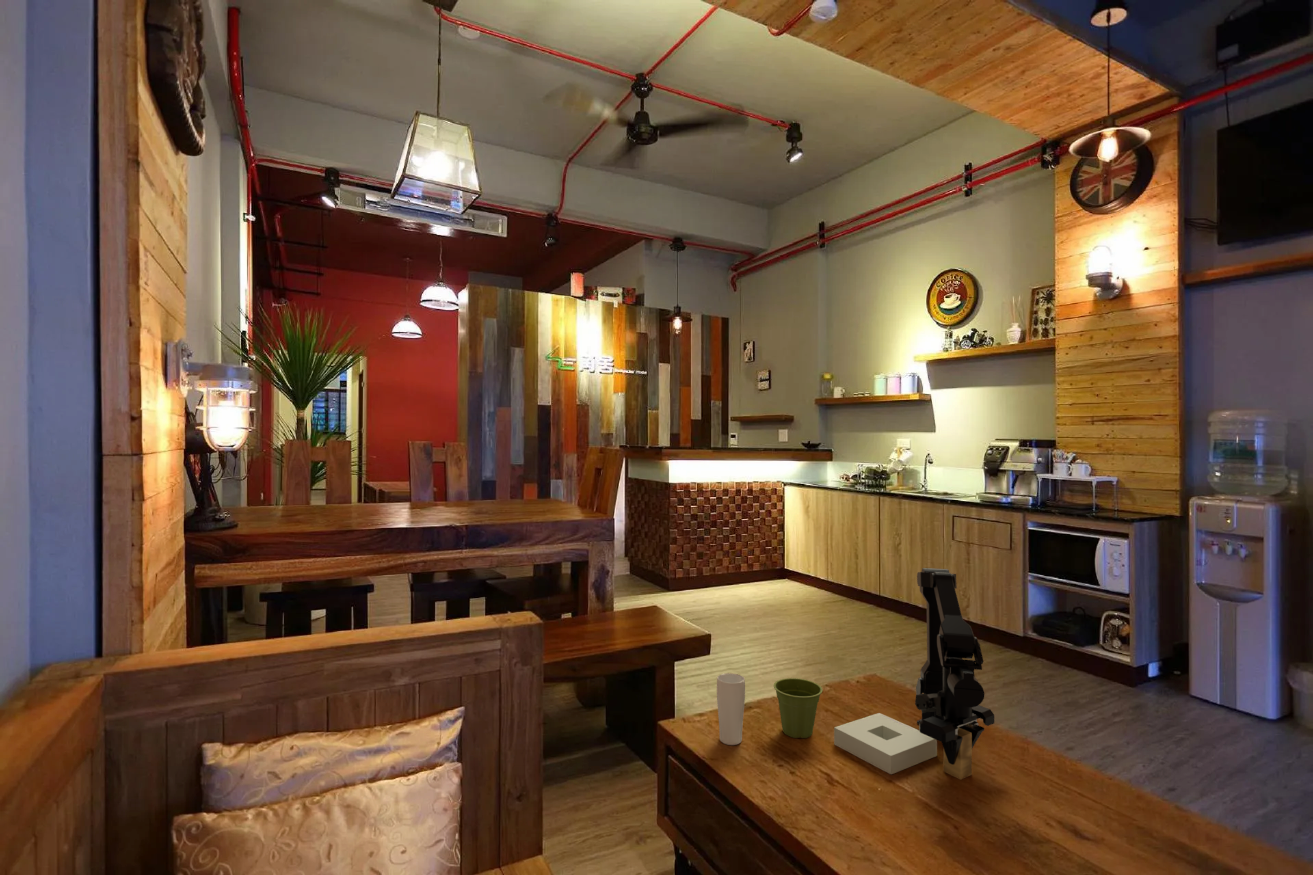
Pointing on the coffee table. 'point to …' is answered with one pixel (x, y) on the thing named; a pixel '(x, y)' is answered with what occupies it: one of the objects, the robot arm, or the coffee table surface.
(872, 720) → the socket block
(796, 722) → the plant pot
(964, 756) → the peg
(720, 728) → the drinking glass
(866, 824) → the coffee table surface
